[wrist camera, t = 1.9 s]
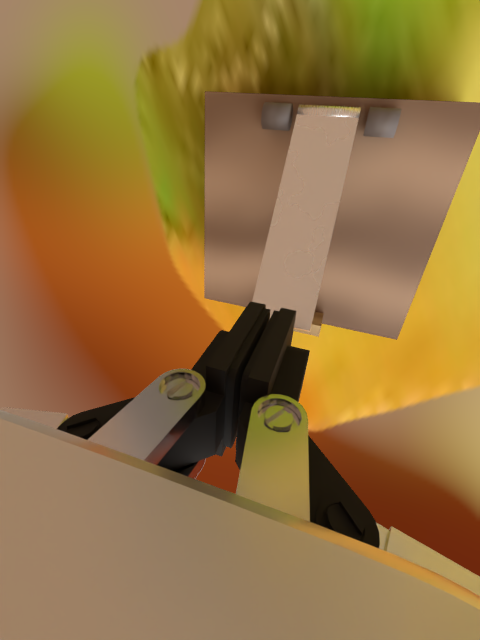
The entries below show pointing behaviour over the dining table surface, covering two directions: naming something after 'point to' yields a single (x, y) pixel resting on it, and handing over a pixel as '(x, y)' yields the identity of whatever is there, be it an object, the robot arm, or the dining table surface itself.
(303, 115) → the steel strap
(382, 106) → the walnut box
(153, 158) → the dining table surface
